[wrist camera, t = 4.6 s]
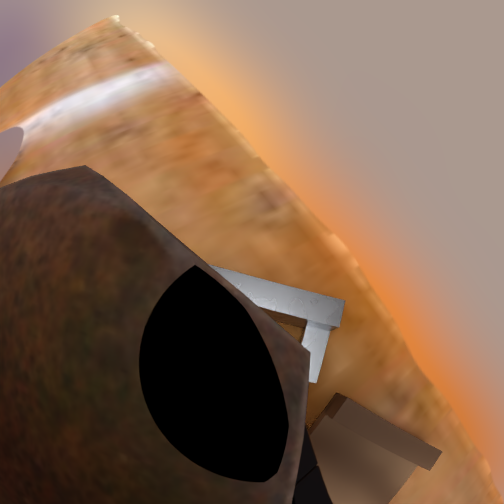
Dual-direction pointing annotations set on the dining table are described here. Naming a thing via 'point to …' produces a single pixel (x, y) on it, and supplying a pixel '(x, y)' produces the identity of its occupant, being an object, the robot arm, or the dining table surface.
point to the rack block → (365, 453)
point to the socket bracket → (293, 311)
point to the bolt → (134, 360)
